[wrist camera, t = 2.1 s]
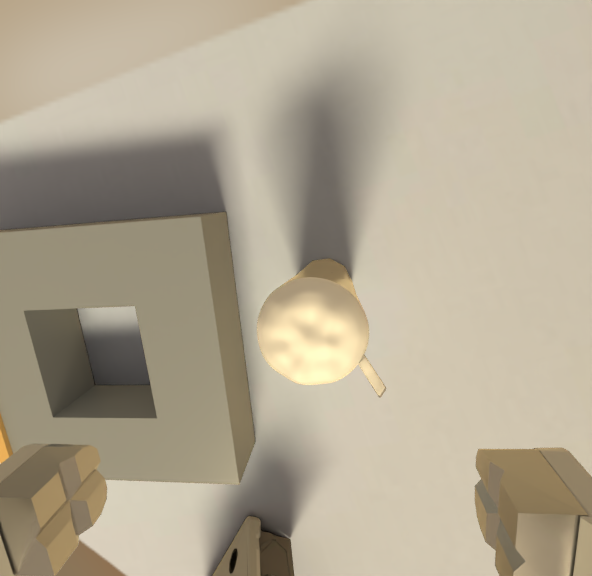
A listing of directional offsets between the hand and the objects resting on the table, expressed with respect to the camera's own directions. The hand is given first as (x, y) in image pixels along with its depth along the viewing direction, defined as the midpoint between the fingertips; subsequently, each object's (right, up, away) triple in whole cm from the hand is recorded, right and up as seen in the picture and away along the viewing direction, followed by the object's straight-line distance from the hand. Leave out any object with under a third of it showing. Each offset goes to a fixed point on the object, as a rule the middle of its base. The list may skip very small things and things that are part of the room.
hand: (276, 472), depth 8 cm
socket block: (-11, 0, +18) cm, 21 cm away
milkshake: (+3, +4, +15) cm, 16 cm away
